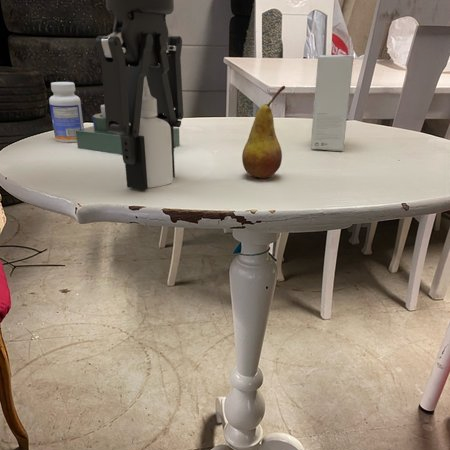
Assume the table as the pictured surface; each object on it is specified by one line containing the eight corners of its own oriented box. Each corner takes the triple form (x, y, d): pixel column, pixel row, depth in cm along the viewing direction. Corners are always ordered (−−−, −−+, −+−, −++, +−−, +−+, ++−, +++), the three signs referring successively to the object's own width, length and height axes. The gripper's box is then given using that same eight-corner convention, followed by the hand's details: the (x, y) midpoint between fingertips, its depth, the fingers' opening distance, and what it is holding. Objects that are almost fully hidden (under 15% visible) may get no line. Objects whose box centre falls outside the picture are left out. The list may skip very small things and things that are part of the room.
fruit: (266, 169, 70) (271, 81, 64) (287, 179, 66) (295, 86, 60) (233, 173, 68) (235, 83, 62) (253, 183, 64) (257, 87, 58)
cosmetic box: (343, 152, 81) (356, 55, 74) (308, 150, 82) (317, 54, 75) (342, 142, 88) (354, 53, 81) (310, 140, 89) (319, 53, 82)
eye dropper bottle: (132, 179, 65) (124, 84, 59) (173, 179, 65) (169, 84, 59) (128, 189, 61) (119, 88, 55) (172, 188, 61) (168, 88, 55)
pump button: (97, 118, 81) (95, 105, 80) (112, 115, 84) (110, 103, 83) (115, 120, 79) (113, 107, 78) (130, 117, 82) (128, 105, 81)
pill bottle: (62, 136, 90) (53, 80, 85) (89, 137, 89) (82, 81, 84) (50, 142, 85) (40, 83, 80) (79, 143, 85) (71, 84, 80)
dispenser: (77, 148, 81) (73, 117, 79) (118, 137, 90) (115, 109, 87) (143, 157, 76) (140, 125, 73) (179, 145, 84) (178, 116, 82)
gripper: (108, -41, 42) (131, 206, 54) (209, -22, 57) (210, 170, 68) (48, -37, 45) (81, 196, 57) (158, -20, 60) (167, 163, 71)
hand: (151, 181), depth 63 cm, fingers closed on eye dropper bottle, 6 cm apart
